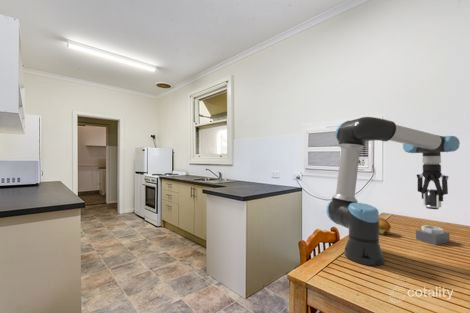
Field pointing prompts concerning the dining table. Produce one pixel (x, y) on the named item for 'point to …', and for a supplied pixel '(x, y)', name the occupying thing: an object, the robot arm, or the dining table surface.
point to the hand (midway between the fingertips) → (432, 205)
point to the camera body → (432, 235)
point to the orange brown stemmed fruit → (384, 226)
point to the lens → (431, 199)
